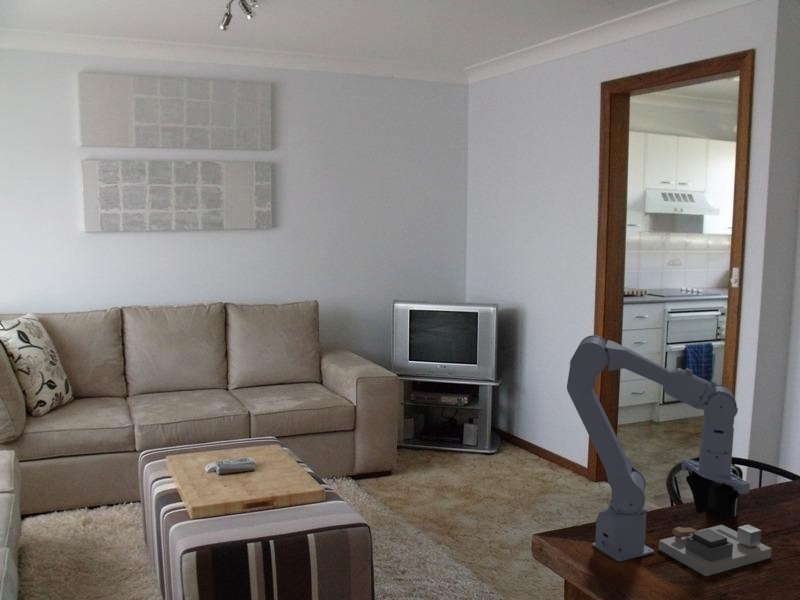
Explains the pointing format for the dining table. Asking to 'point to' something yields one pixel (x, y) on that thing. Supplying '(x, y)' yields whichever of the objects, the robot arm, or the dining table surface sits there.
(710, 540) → the push button
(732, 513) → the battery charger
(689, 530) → the rocker switch
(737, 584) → the dining table surface
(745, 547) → the control panel
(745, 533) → the slider knob
